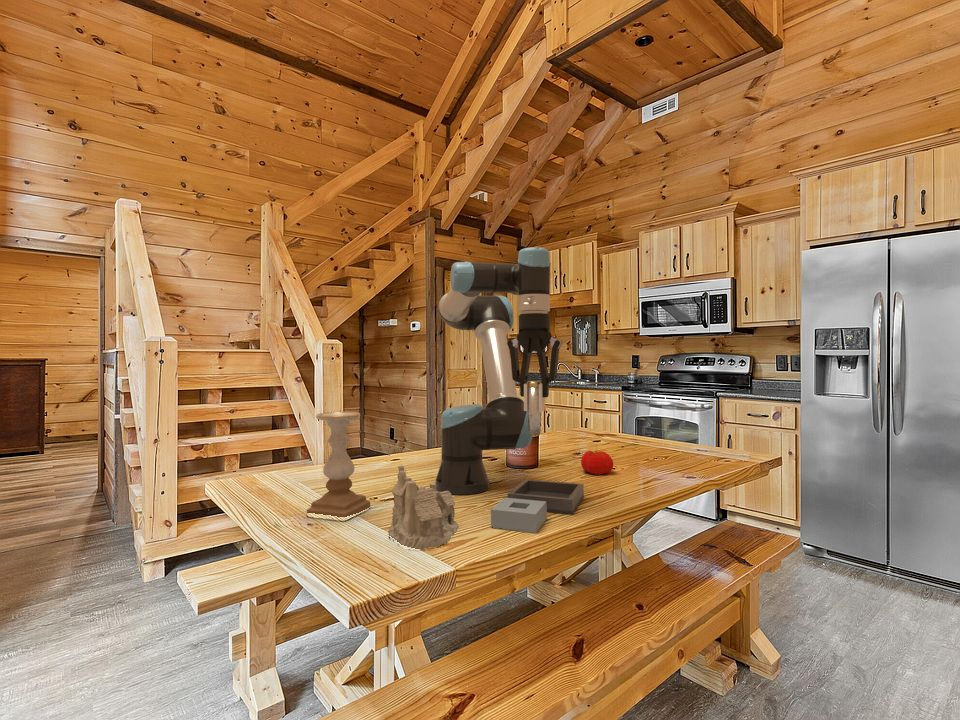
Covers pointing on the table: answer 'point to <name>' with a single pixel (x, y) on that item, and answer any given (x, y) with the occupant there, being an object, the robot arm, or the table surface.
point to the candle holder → (339, 471)
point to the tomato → (597, 462)
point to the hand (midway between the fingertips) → (534, 410)
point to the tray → (551, 494)
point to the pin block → (519, 515)
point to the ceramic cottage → (421, 514)
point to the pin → (534, 408)
